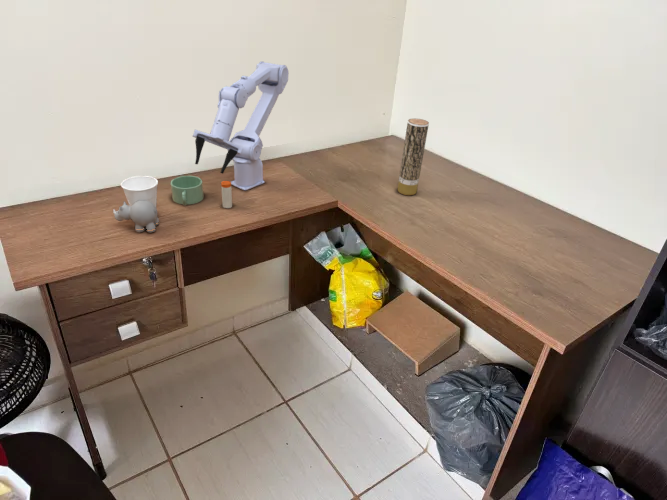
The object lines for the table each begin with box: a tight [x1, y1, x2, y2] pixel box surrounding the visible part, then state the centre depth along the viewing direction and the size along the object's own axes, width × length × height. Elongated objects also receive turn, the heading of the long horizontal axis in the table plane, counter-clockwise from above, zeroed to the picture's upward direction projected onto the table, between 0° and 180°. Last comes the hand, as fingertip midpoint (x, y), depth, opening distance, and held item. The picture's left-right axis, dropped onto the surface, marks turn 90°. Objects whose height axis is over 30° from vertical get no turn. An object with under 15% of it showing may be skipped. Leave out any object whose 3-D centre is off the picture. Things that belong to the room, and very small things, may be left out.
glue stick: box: [220, 180, 233, 209], centre depth 149 cm, size 3×3×8 cm
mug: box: [170, 175, 205, 206], centre depth 151 cm, size 12×10×6 cm
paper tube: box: [397, 118, 430, 196], centre depth 161 cm, size 7×7×25 cm
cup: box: [120, 175, 159, 208], centre depth 139 cm, size 10×10×11 cm
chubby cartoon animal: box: [112, 200, 160, 234], centre depth 134 cm, size 7×12×8 cm, turn 89°
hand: (209, 168), depth 142 cm, fingers open, 7 cm apart
